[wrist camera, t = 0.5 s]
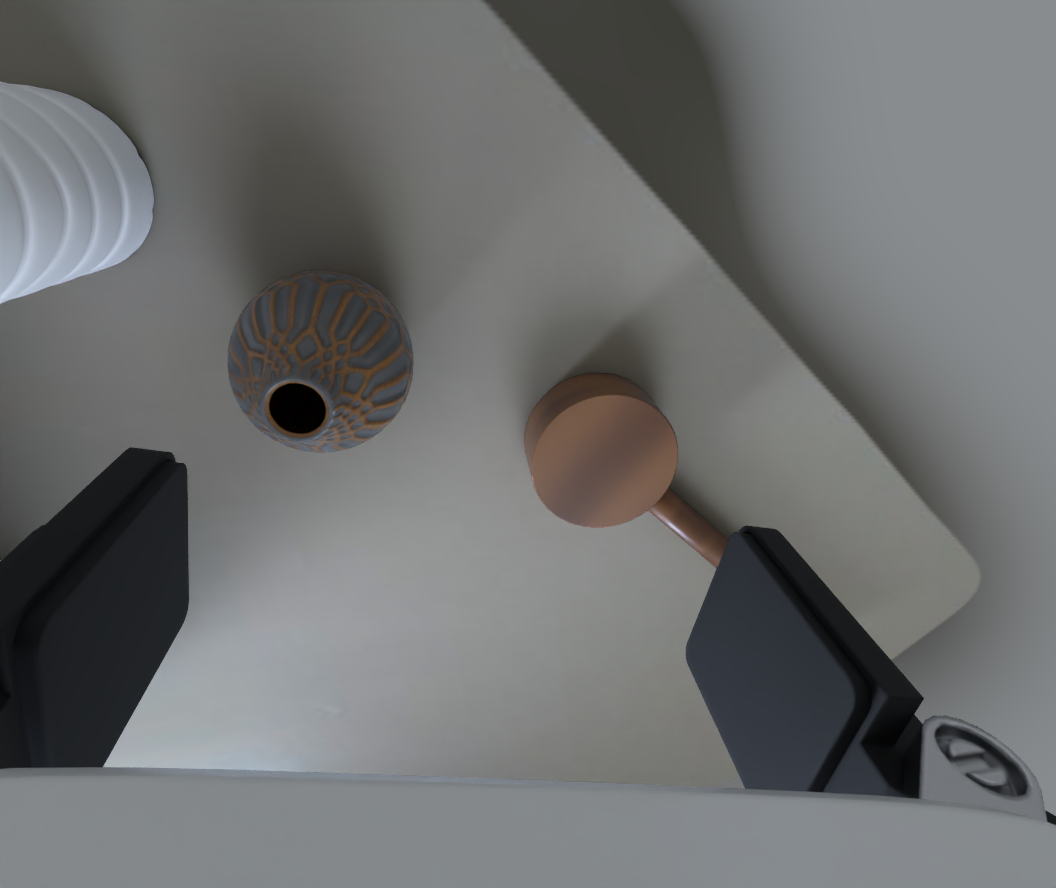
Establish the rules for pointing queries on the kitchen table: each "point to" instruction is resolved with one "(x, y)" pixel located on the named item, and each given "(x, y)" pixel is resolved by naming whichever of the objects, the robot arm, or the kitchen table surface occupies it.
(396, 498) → the kitchen table surface
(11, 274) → the water bottle
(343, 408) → the vase
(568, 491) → the ladle
